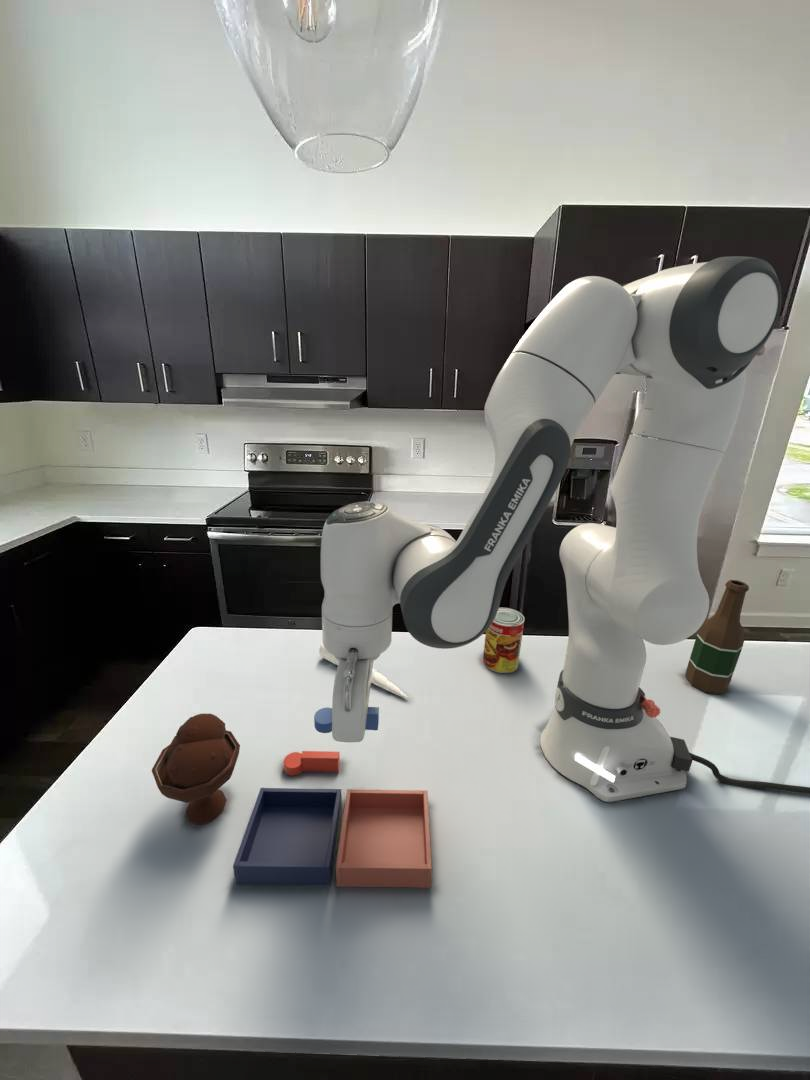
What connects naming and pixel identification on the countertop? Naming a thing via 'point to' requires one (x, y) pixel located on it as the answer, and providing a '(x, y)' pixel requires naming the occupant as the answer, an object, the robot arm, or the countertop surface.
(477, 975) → the countertop surface
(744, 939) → the countertop surface
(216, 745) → the ice cream bowl
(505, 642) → the canned food
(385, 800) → the red bin
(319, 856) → the blue bin
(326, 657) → the unicorn horn
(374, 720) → the blue elongated piece
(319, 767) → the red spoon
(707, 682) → the beer bottle
